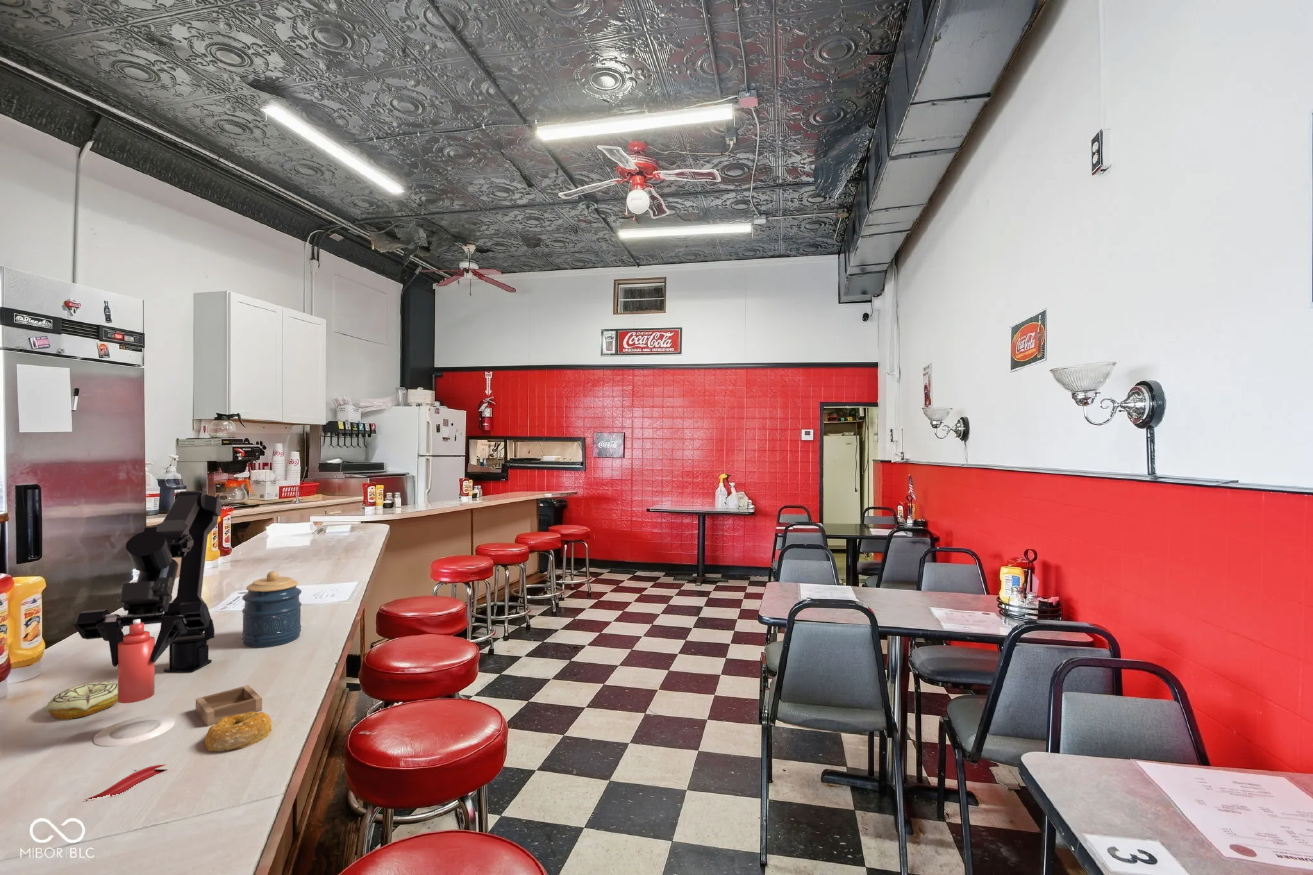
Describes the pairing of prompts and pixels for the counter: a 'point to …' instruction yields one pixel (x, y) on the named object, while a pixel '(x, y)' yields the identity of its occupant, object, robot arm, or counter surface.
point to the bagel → (238, 731)
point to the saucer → (134, 730)
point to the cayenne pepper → (131, 781)
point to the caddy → (228, 704)
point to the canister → (271, 611)
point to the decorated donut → (83, 700)
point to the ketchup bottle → (136, 665)
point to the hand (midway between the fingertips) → (133, 663)
